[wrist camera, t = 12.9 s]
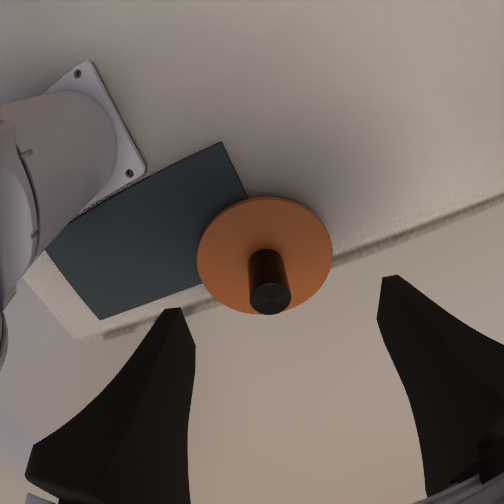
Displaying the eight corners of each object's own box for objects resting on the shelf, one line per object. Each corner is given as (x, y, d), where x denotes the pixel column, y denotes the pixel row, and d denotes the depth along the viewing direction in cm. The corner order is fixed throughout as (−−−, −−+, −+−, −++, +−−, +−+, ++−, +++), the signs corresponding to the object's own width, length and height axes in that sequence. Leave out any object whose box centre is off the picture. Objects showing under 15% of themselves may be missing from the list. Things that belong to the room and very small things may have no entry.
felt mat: (101, 317, 23) (99, 320, 23) (42, 240, 19) (39, 243, 19) (274, 253, 20) (274, 256, 20) (221, 141, 16) (221, 142, 16)
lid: (201, 303, 22) (195, 350, 18) (196, 190, 18) (184, 225, 14) (316, 304, 22) (330, 349, 19) (338, 196, 18) (364, 231, 14)
